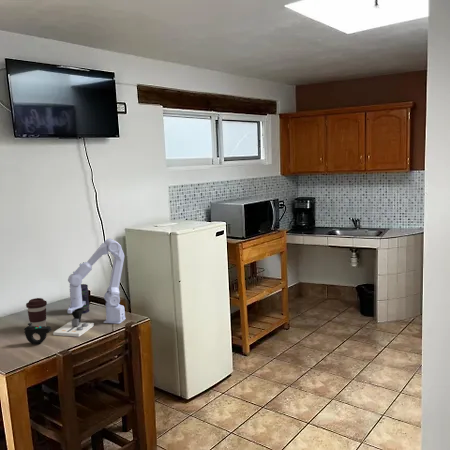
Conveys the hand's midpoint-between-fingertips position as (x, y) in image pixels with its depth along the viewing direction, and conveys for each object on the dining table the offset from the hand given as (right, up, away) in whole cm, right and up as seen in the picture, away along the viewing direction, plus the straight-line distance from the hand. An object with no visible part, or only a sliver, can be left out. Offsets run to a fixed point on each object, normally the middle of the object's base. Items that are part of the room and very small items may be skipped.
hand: (77, 322), depth 238 cm
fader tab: (0, -1, -2) cm, 3 cm away
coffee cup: (-21, -3, +2) cm, 21 cm away
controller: (-12, -6, -19) cm, 24 cm away
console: (-1, -3, -4) cm, 5 cm away
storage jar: (-7, 0, +26) cm, 27 cm away
